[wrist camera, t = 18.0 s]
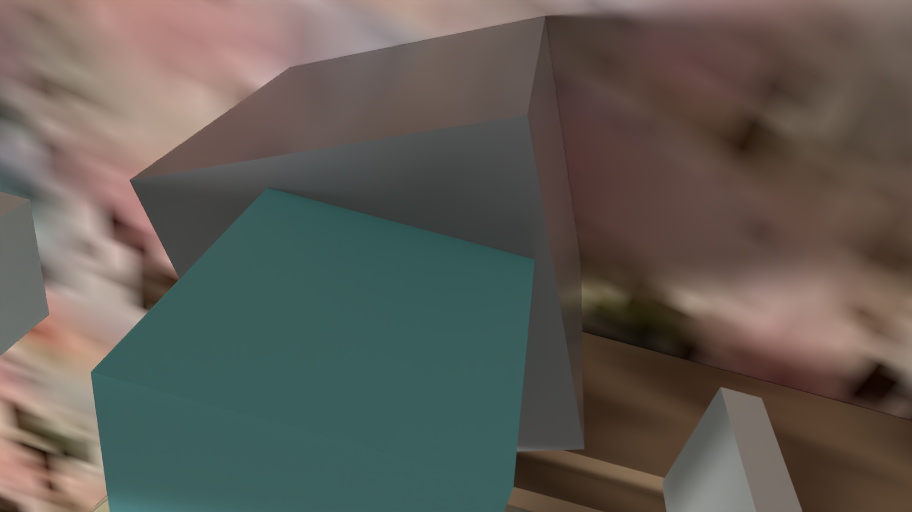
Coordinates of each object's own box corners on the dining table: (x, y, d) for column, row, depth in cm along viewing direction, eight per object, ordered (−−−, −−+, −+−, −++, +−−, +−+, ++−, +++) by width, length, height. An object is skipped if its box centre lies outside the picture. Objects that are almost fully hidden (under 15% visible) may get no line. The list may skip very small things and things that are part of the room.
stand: (363, 280, 22) (272, 460, 15) (289, 67, 19) (129, 180, 12) (580, 257, 20) (584, 448, 14) (545, 15, 17) (527, 114, 10)
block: (255, 383, 14) (121, 602, 10) (267, 187, 12) (89, 372, 7) (472, 443, 14) (430, 689, 10) (534, 259, 11) (513, 488, 7)
